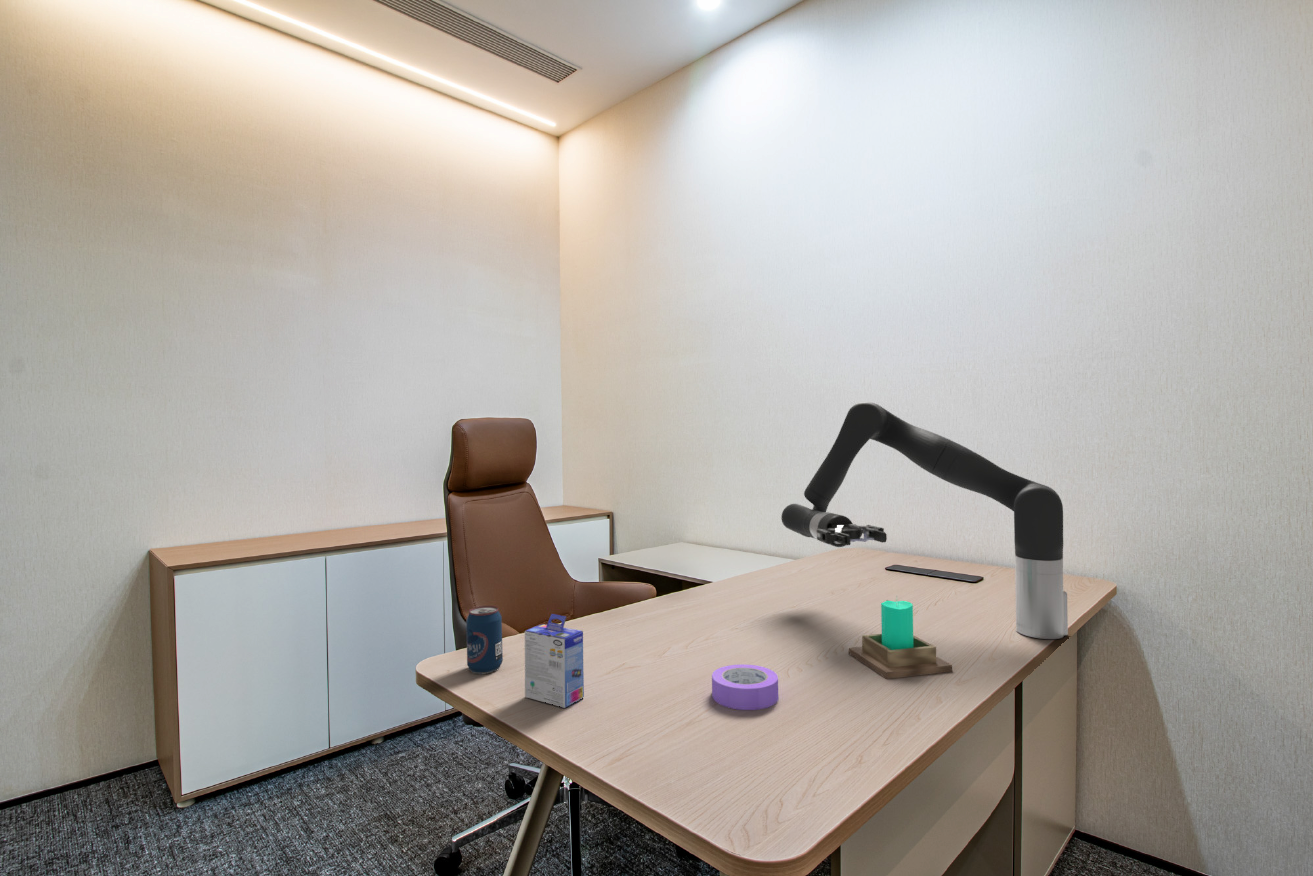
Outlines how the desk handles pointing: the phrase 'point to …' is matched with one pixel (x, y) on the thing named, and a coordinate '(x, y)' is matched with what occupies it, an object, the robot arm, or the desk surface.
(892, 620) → the candle
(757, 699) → the masking tape
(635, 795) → the desk surface
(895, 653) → the candle holder
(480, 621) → the soda can
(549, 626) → the ink cartridge box
